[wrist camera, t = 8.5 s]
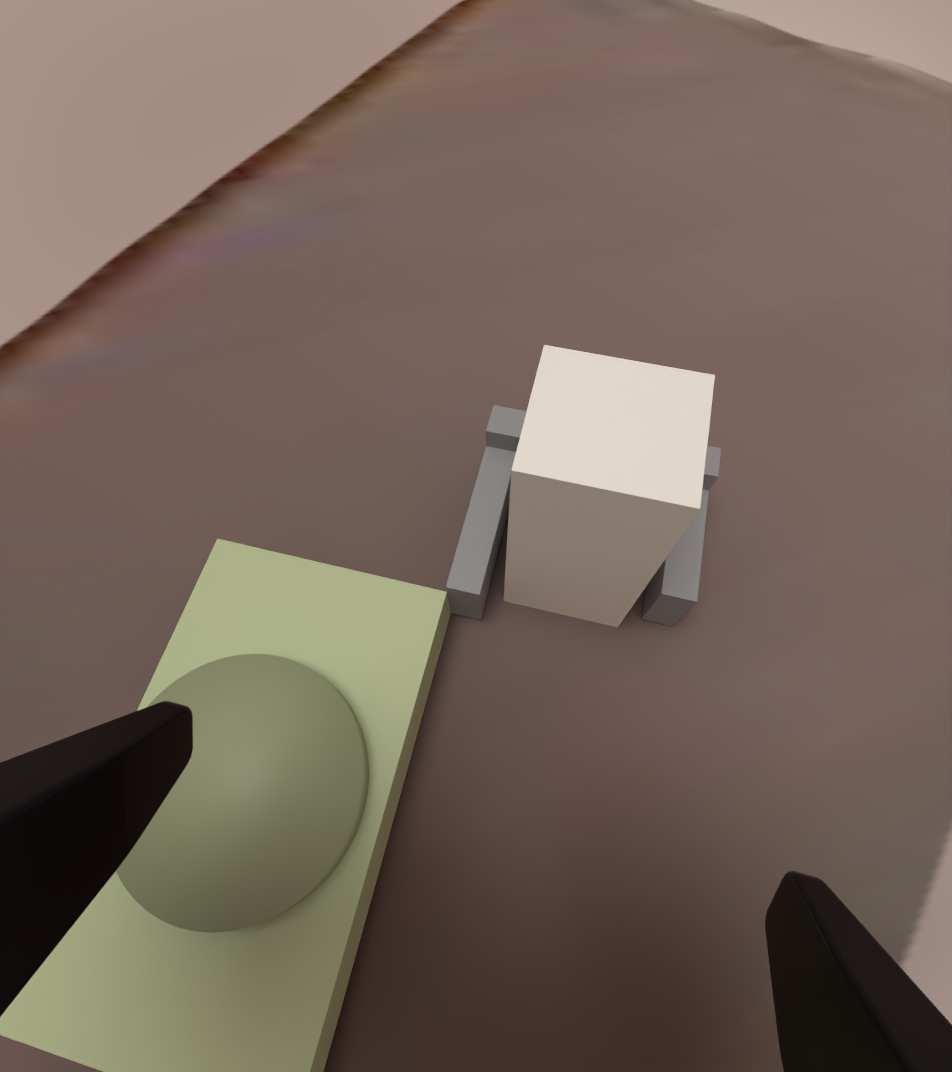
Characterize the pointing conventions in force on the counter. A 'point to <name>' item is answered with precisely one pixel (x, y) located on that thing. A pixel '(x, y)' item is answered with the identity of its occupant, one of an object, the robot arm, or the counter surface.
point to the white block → (603, 481)
